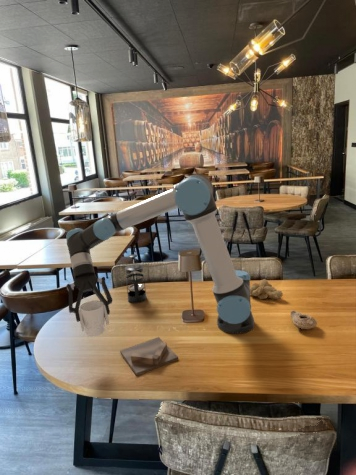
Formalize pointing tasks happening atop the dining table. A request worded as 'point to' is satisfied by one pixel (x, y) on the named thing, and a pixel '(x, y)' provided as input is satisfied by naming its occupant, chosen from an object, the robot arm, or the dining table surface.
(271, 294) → the ginger root
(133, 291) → the french press
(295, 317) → the pottery oil lamp
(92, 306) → the white cup
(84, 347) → the dining table surface
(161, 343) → the brown flat square slab
